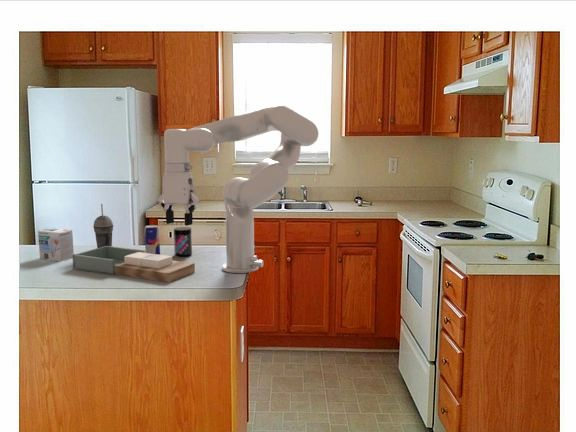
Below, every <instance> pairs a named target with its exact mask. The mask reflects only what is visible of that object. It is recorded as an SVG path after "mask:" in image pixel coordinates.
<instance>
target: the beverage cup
mask: <svg viewBox="0 0 576 432" xmlns="http://www.w3.org/2000/svg"><path fill="white" fill-rule="evenodd" d="M100 207H101V208H100V210H101V215H100V216H98V217H96V218H95V220H94V222H93V226H92V228H93V231H94V234H95V240H96V248H100V247H104V246H113V231H114V224H113V223H114V222H113V220H112V219H111V218H110V217H109V216H107V215H104V210H103V203H101V204H100Z"/></svg>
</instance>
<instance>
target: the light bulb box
mask: <svg viewBox="0 0 576 432" xmlns="http://www.w3.org/2000/svg"><path fill="white" fill-rule="evenodd" d="M37 233H38V234H37V236H38V249H39V259H41V258H44V259H43V260H48V259H50V260H49V261H55V260H56V261H57V262H63V261H67V260H70V259H73V256H72V255H74V254H75V253H74V240H73V239H74V237H73V234H74V233H73V229H68V228H59V227H58V228H57V227H49V228H45V229H40V230H38V231H37Z"/></svg>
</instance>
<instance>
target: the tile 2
mask: <svg viewBox="0 0 576 432" xmlns="http://www.w3.org/2000/svg"><path fill="white" fill-rule="evenodd" d="M172 260H173V256H172V255H165V254H160V255H158V254H155V255H152V256H149V257H145V258H142V266H146V267H153V268H162V267H164V266H167V265H170V264H173V263H172Z"/></svg>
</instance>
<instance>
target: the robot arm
mask: <svg viewBox="0 0 576 432" xmlns="http://www.w3.org/2000/svg"><path fill="white" fill-rule="evenodd" d="M272 131H273V132H274V131H279V132H280V133H281V134H280V143H279V146H278V147H277V148H276V149H275V150H274V151H272V153H270V154H269V155H267V156H266V157H264V158H263V159H262V160H260V161H258V162H257V163H255V164H254V165H253V167H252V168H251V170H250V171H249V177H250V178H245V177H240V176H239V177H238V176H235V177H233V178H230V179H228V181H226V183H225V184H224V186H223V189H222V191H223V192H222V193H223V194H222V195H223V196H222V197H223V203H224V211H225V236H226V237H225V240H226V241H225V243H226V245H225V246H226V262H225V263H223V264H222V265H221V267H222V268H221V269H222V271H224V272H225V273H232V274H246V273H252V272H255V271H258V269H259V268H264V260H262V259H258V256H257V255H255V220H254V219H255V217H254V216H255V215H254V209H256V208H257V207H260V206H261V205H263V204H264V203H266V202H267V201H268V200H270V199H271V198H273V196H275V195H276V194H278V193H279V192H281V191H282V190H283V189H284V188H285V187H286V185H287V184H288V181H289V179H290V173H289V171H290V170H292V169H293V168H294V167H295V166H296V165H297V164H298V161H299V159H300V154H301V147H309V146H312V145H314V144H315V143H316V142H317V140H318V138H319V129H318V126H317V125H316V124H315V123H314V121H312V120H309V119H308V118H306V117H304V116H303V115H301V114H300V113H298V112H296V111H295V110H294V109H291V108H289V107H287V106H285V105H282V104H271V105H265V106H262V107H259V108H255V109H251V110H249V111H246V112H242V113H238V114H235V115H231V116H228V117H225V118H222V119H219V120H214V121H211V122H208V123H205V124H201V125H199V126H194V127H191V128H189V129H186V128H185V129H184V128H183V129H182V128H170V129H169V128H167V129H166V130H164V134H163V139H164V144H163V145H164V164H165V168H164V170H165V172H164V173H163V178H162V188H161V189H162V192H161V194H160V195H159V197H157V201H158V203H159V204H160V206H161V207H162V209H163V211H164V212H165V221H166V222H165V224H166V225H169V224H173V223H174V222H175V217H174V216H175V214H174V209H173V208H174V205H178V206H179V205H181V206H183V209H184V211H185V213H184V227H188V226H192V225H193V221H194V220H193V219H194V218H193V213H194V211H195V210H196V209H197V207H198V206H199V205H200V203H201V201H200V200H201V199H199V198H198V197H197V196H196V186H195V181H194V180H195V179H194V176H193V172H190V171H191V170H192V169H193V166H192V165H190V152H197V153H206V152H209V151H211V150H212V149H213V148H214V147H215V145H218V144H223V143H231V142H240V141H245V140H247V139H250V138H253V137H256V136H260V135H263V134H266V133H269V132H272Z"/></svg>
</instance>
